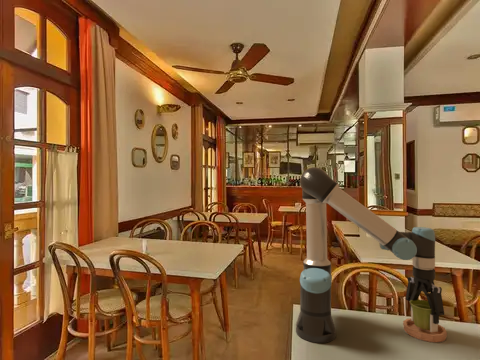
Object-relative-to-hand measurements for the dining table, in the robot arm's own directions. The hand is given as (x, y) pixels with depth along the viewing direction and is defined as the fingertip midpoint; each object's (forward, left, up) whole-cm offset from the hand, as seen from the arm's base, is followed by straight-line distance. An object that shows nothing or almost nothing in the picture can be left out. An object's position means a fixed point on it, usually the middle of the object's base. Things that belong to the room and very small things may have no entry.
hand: (423, 325), depth 114 cm
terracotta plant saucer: (0, 0, -3) cm, 3 cm away
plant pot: (0, 0, 0) cm, 1 cm away
